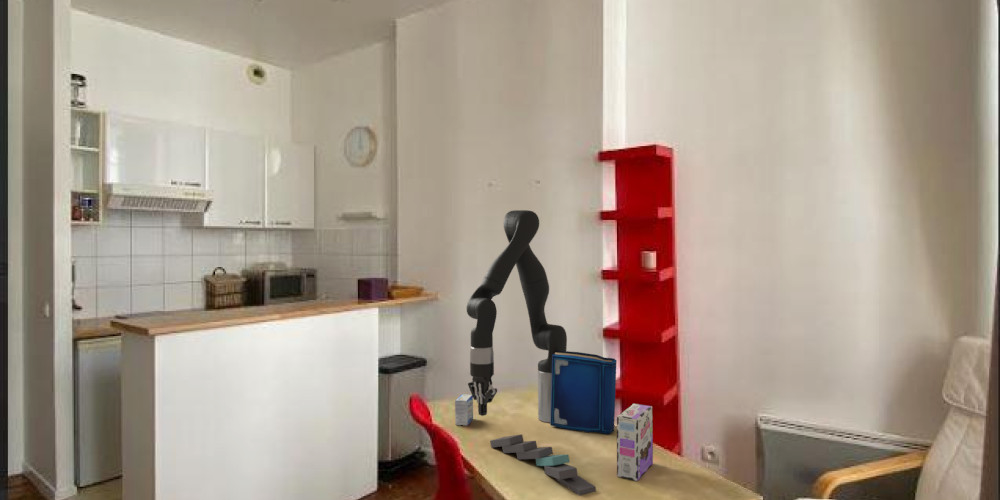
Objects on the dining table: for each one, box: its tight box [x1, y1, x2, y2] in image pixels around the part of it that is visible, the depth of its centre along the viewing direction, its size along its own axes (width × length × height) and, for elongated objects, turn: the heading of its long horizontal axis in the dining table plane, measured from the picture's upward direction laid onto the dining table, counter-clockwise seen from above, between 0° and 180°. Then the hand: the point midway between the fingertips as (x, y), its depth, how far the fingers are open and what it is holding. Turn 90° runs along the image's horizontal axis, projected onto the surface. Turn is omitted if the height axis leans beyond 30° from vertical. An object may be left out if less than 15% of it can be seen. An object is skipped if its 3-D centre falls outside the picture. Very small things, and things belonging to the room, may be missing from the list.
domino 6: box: [556, 475, 597, 496], centre depth 144 cm, size 5×2×10 cm
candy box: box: [616, 403, 654, 482], centre depth 153 cm, size 14×6×16 cm, turn 148°
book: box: [549, 350, 617, 435], centre depth 187 cm, size 22×7×25 cm, turn 65°
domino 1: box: [489, 434, 524, 449], centre depth 169 cm, size 5×2×10 cm
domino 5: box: [543, 463, 579, 480], centre depth 148 cm, size 5×2×10 cm
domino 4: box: [535, 453, 570, 467], centre depth 154 cm, size 5×2×10 cm
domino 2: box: [501, 440, 538, 454], centre depth 164 cm, size 5×2×10 cm
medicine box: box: [454, 394, 474, 427], centre depth 195 cm, size 8×4×9 cm, turn 168°
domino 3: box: [515, 446, 554, 460], centre depth 159 cm, size 5×2×10 cm
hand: (482, 414), depth 178 cm, fingers closed
